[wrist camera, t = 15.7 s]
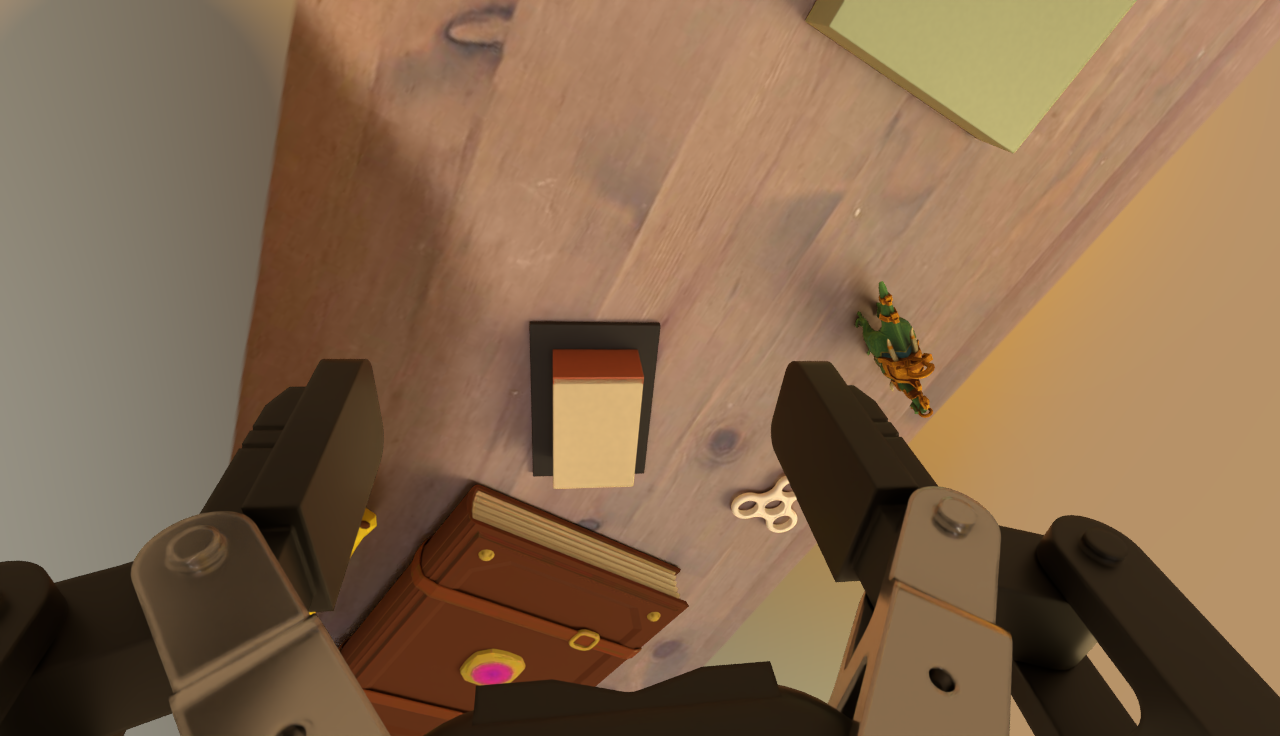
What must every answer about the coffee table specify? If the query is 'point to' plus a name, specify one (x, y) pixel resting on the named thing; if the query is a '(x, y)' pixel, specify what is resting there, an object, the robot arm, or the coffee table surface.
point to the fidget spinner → (769, 514)
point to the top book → (595, 417)
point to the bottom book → (975, 53)
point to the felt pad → (594, 338)
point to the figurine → (898, 352)
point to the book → (505, 612)
